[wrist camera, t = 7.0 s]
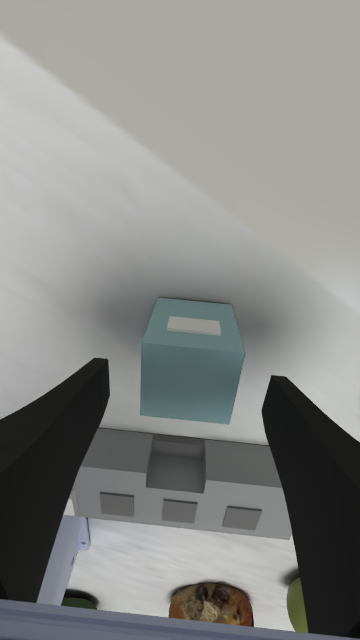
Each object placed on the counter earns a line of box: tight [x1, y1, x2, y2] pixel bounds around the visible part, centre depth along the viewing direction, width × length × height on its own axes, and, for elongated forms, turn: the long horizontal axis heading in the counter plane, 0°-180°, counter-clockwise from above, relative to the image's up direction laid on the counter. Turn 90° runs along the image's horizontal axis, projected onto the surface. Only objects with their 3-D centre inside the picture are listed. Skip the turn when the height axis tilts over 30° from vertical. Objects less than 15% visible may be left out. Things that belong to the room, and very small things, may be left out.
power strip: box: [63, 428, 292, 540], centre depth 20 cm, size 6×28×4 cm, turn 85°
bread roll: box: [168, 583, 254, 627], centre depth 31 cm, size 10×10×8 cm
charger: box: [140, 298, 245, 424], centre depth 14 cm, size 6×4×5 cm
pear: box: [287, 577, 308, 633], centre depth 26 cm, size 6×5×10 cm
